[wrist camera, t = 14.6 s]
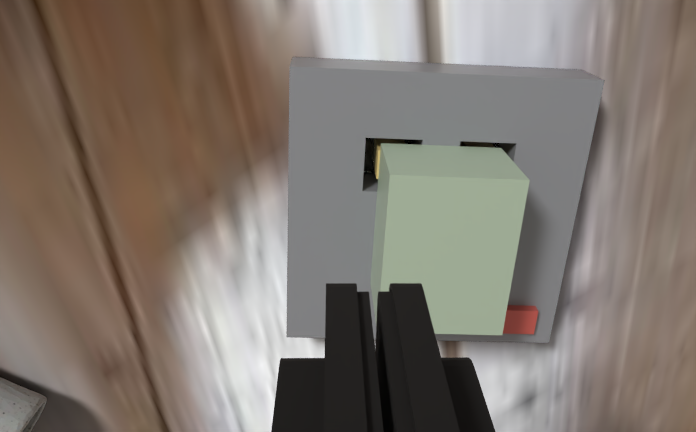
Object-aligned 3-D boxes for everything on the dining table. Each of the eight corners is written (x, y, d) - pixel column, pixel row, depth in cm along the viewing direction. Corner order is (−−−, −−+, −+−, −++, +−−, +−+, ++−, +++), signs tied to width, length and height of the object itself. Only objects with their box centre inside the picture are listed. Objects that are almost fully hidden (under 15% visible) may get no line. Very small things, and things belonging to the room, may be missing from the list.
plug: (375, 128, 35) (387, 174, 28) (489, 133, 35) (531, 180, 28) (365, 260, 38) (374, 332, 31) (470, 263, 38) (504, 335, 31)
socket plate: (292, 57, 33) (289, 68, 30) (582, 69, 34) (609, 82, 31) (289, 310, 40) (285, 342, 36) (533, 316, 40) (552, 348, 37)
